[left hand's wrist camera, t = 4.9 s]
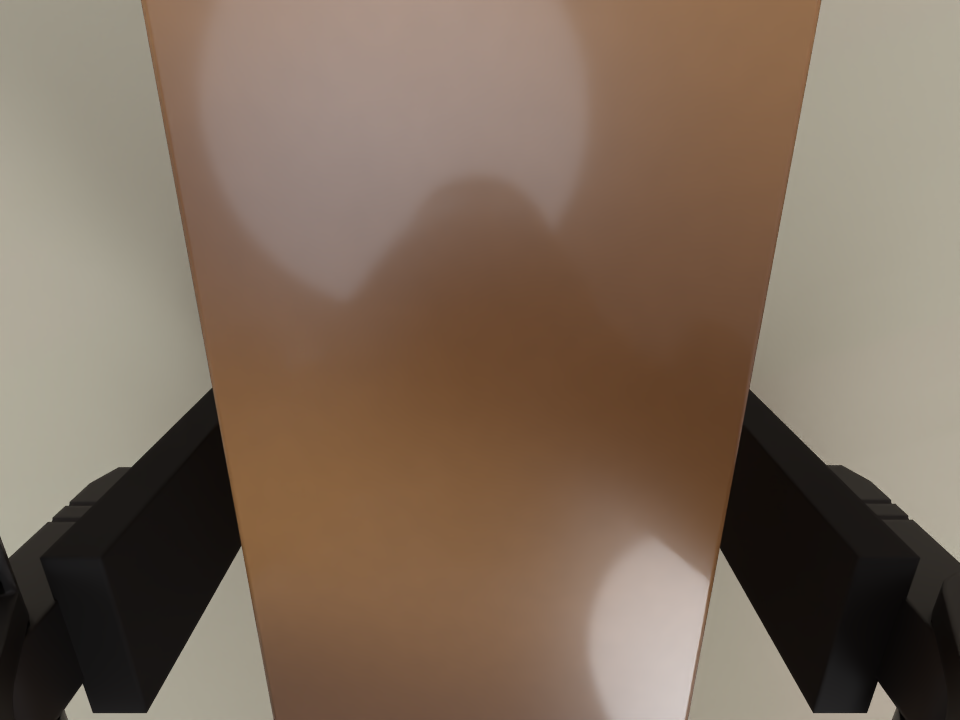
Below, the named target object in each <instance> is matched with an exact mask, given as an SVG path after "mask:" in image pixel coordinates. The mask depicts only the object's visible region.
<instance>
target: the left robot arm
mask: <svg viewBox="0 0 960 720" xmlns="http://www.w3.org/2000/svg"><path fill="white" fill-rule="evenodd" d="M240 547H241V539H240V534H239V528H238V523H237V518H236V512H235V507H234V501H233V496H232V490H231V485H230V480H229V474H228V469H227V463H226V458H225V453H224V447H223V442H222V436H221V431H220V425H219V420H218V415H217V409H216V404H215V398H214V393H213V387H212V388H211V389H210V390H209V391H208V392H207V393H206V394H205V395H204V396H203V397H202V398H201V399H200V400H199V401H198V402H197V403H196V404H195V405H194V406H193V407H192V408H191V409H190V410H189V411H188V412H187V413H186V414H185V415H184V416H183V417H182V418H181V419H180V420H179V421H178V422H177V423H176V424H175V425H174V426H173V427H172V428H171V429H170V430H169V431H168V432H167V433H166V434H165V435H164V436H163V437H162V438H161V439H160V440H159V441H158V442H157V443H156V444H155V445H154V446H153V447H152V448H151V449H150V450H149V451H148V452H146V453H145V454H144V455H143V456H142V457H141V458H140V459H139V460H138V461H137V462H136V463H135V464H134V465H133V466H132V467H118V468H117V469H115V470H113V471H111V472H109V473H108V474H106V475H104V476H102V477H100V478H99V479H97V480H95V481H93V482H92V483H90V484H89V485H88V486H87V487H85V488H84V489H83V490H82V491H81V492H80V493H79V494H78V495H77V496H76V497H75V498H74V499H72V500H71V501H70V504H69V506H65V507H64V508H63V509H62V510H61V511H59V512H58V513H57V514H56V515H55V516H54V517H53V520H52V522H47V523H46V524H45V525H44V526H43V527H42V528H41V529H40V530H39V531H38V532H37V533H36V534H34V535H33V536H32V537H31V538H30V539H29V540H28V541H27V542H26V543H25V544H24V545H23V546H21V547H20V548H19V549H18V550H17V551H16V552H15V553H14V554H13V555H12V556H11V557H10V558H8V556H7V554H6V551H5V548H4V546H3V543H2V540H1V537H0V720H68V718H67V716H66V713H65V710H64V709H65V708H66V706H67V705H68V703H69V702H70V701H71V699H72V698H73V696H74V695H75V694H76V692H77V691H78V689H79V688H80V687H81V685H82V684H83V685H84V688H85V691H86V694H87V697H88V700H89V703H90V706H91V709H92V711H93V713H147V712H148V710H149V708H150V706H151V704H152V703H153V701H154V699H155V697H156V696H157V694H158V692H159V690H160V689H161V687H162V685H163V683H164V681H165V680H166V678H167V676H168V674H169V673H170V671H171V669H172V667H173V666H174V664H175V662H176V660H177V659H178V657H179V655H180V653H181V651H182V650H183V648H184V646H185V644H186V643H187V641H188V639H189V637H190V636H191V634H192V632H193V630H194V628H195V627H196V625H197V623H198V621H199V620H200V618H201V616H202V614H203V613H204V611H205V609H206V607H207V606H208V604H209V602H210V600H211V598H212V597H213V595H214V593H215V591H216V590H217V588H218V586H219V584H220V583H221V581H222V579H223V577H224V575H225V574H226V572H227V570H228V568H229V567H230V565H231V563H232V561H233V560H234V558H235V556H236V554H237V553H238V551H239V549H240ZM720 549H721V551H722V553H723V554H724V556H725V558H726V560H727V561H728V563H729V565H730V567H731V568H732V570H733V572H734V574H735V575H736V577H737V579H738V581H739V583H740V584H741V586H742V588H743V590H744V591H745V593H746V595H747V597H748V598H749V600H750V602H751V604H752V606H753V607H754V609H755V611H756V613H757V614H758V616H759V618H760V620H761V621H762V623H763V625H764V627H765V629H766V630H767V632H768V634H769V636H770V637H771V639H772V641H773V643H774V644H775V646H776V648H777V650H778V651H779V653H780V655H781V657H782V659H783V660H784V662H785V664H786V666H787V667H788V669H789V671H790V673H791V674H792V676H793V678H794V680H795V682H796V683H797V685H798V687H799V689H800V690H801V692H802V694H803V696H804V697H805V699H806V701H807V703H808V704H809V706H810V708H811V710H812V712H813V713H867V711H868V708H869V706H870V703H871V700H872V697H873V694H874V691H875V688H876V685H877V682H879V683H880V685H881V686H882V688H883V689H884V690H885V692H886V693H887V695H888V696H889V697H890V699H891V700H892V702H893V703H894V704H895V706H896V707H897V708H896V710H895V713H894V716H893V718H892V720H960V563H959V562H958V561H957V560H956V559H955V558H954V557H953V556H952V555H951V554H949V553H948V552H947V551H946V550H945V549H944V548H943V547H942V546H941V545H940V544H939V543H937V542H936V541H935V540H934V539H933V538H932V537H931V536H930V535H929V534H928V533H927V532H925V531H924V530H923V529H922V528H921V527H920V526H919V525H918V524H917V523H916V522H915V521H913V520H909V519H908V515H907V514H906V513H905V512H904V511H902V510H901V509H900V508H899V507H898V506H897V505H896V504H892V503H891V500H890V499H889V498H888V497H887V496H886V495H885V494H884V493H883V492H882V491H881V490H880V489H878V488H877V487H876V486H875V485H874V484H873V483H872V482H871V481H869V480H867V479H865V478H864V477H862V476H860V475H858V474H856V473H855V472H853V471H851V470H849V469H847V468H846V467H844V466H842V465H826V464H825V463H824V462H823V461H822V460H821V459H820V458H819V457H818V456H817V455H816V454H815V453H813V452H812V451H811V450H810V449H809V448H808V447H807V446H806V445H805V444H804V443H803V442H802V441H801V440H800V439H799V438H798V437H797V436H796V435H795V434H794V433H793V432H792V431H791V430H790V429H789V428H788V427H787V426H786V425H785V424H784V423H783V422H782V421H781V420H780V419H779V418H778V417H777V416H776V415H775V414H774V413H773V412H772V411H771V410H770V409H769V408H768V407H767V406H766V405H765V404H764V403H763V402H762V401H761V400H760V399H759V398H758V397H757V396H756V395H755V394H754V393H753V392H752V391H751V390H750V389H749V392H748V398H747V403H746V409H745V414H744V419H743V425H742V430H741V436H740V441H739V446H738V452H737V457H736V462H735V468H734V473H733V479H732V484H731V489H730V495H729V500H728V506H727V511H726V516H725V522H724V527H723V532H722V538H721V543H720Z"/></svg>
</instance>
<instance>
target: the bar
mask: <svg viewBox="0 0 960 720" xmlns="http://www.w3.org/2000/svg"><path fill="white" fill-rule="evenodd" d="M141 3H142V8H143V13H144V19H145V24H146V30H147V35H148V41H149V46H150V51H151V57H152V62H153V68H154V73H155V78H156V84H157V89H158V95H159V100H160V106H161V111H162V116H163V122H164V127H165V133H166V138H167V144H168V149H169V154H170V160H171V165H172V171H173V176H174V181H175V187H176V192H177V198H178V203H179V209H180V214H181V219H182V225H183V230H184V236H185V241H186V247H187V252H188V257H189V263H190V268H191V274H192V279H193V284H194V290H195V295H196V301H197V306H198V312H199V317H200V322H201V328H202V333H203V339H204V344H205V350H206V355H207V360H208V366H209V371H210V377H211V382H212V387H213V393H214V398H215V404H216V409H217V415H218V420H219V425H220V431H221V436H222V442H223V447H224V453H225V458H226V463H227V469H228V474H229V480H230V485H231V490H232V496H233V501H234V507H235V512H236V518H237V523H238V528H239V534H240V539H241V545H242V550H243V555H244V561H245V566H246V572H247V577H248V583H249V588H250V593H251V599H252V604H253V610H254V615H255V621H256V626H257V631H258V637H259V642H260V648H261V653H262V658H263V664H264V669H265V675H266V680H267V686H268V691H269V696H270V702H271V707H272V713H273V718H274V720H688V716H689V710H690V705H691V699H692V694H693V689H694V683H695V678H696V672H697V667H698V662H699V656H700V651H701V646H702V640H703V635H704V629H705V624H706V619H707V613H708V608H709V602H710V597H711V592H712V586H713V581H714V576H715V570H716V565H717V559H718V554H719V549H720V543H721V538H722V532H723V527H724V522H725V516H726V511H727V506H728V500H729V495H730V489H731V484H732V479H733V473H734V468H735V462H736V457H737V452H738V446H739V441H740V436H741V430H742V425H743V419H744V414H745V409H746V403H747V398H748V392H749V387H750V382H751V376H752V371H753V366H754V360H755V355H756V349H757V344H758V339H759V333H760V328H761V322H762V317H763V312H764V306H765V301H766V296H767V290H768V285H769V279H770V274H771V269H772V263H773V258H774V252H775V247H776V242H777V236H778V231H779V226H780V220H781V215H782V209H783V204H784V199H785V193H786V188H787V182H788V177H789V172H790V166H791V161H792V156H793V150H794V145H795V139H796V134H797V129H798V123H799V118H800V112H801V107H802V102H803V96H804V91H805V86H806V80H807V75H808V69H809V64H810V59H811V53H812V48H813V42H814V37H815V32H816V26H817V21H818V16H819V10H820V5H821V0H141Z"/></svg>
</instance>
